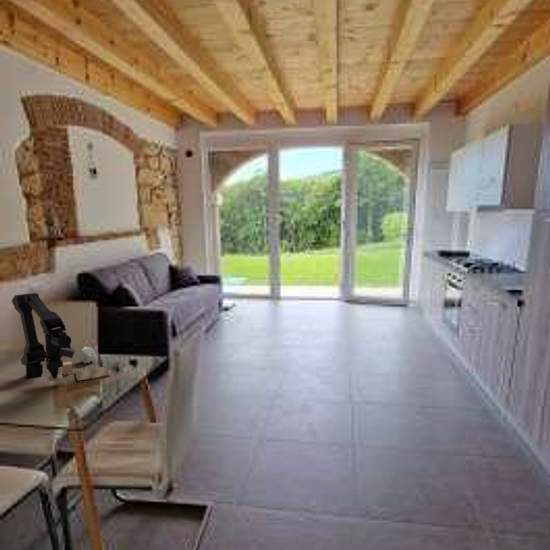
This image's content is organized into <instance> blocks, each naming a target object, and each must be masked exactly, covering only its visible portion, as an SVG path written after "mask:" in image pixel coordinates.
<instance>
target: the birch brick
mask: <svg viewBox="0 0 550 550" xmlns="http://www.w3.org/2000/svg"><path fill="white" fill-rule="evenodd" d="M63 376H64V375H62V367H60V368H58V373H57V378H56V379H54V378H53V377H52V375H51V373H50V371H49V370H48V369H47V368H46V379H47V383H48V382H49V383H50V382H56V381H60V380H63V379H64V378H63Z"/></svg>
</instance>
